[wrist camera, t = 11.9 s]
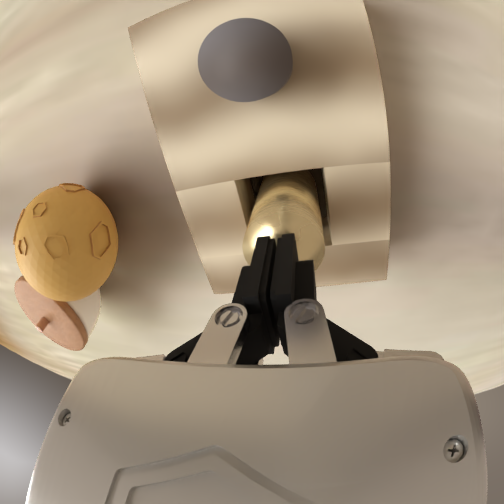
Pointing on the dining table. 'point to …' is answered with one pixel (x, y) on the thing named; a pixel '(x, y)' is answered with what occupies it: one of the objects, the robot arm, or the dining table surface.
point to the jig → (271, 122)
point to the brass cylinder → (288, 215)
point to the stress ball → (66, 242)
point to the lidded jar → (60, 315)
